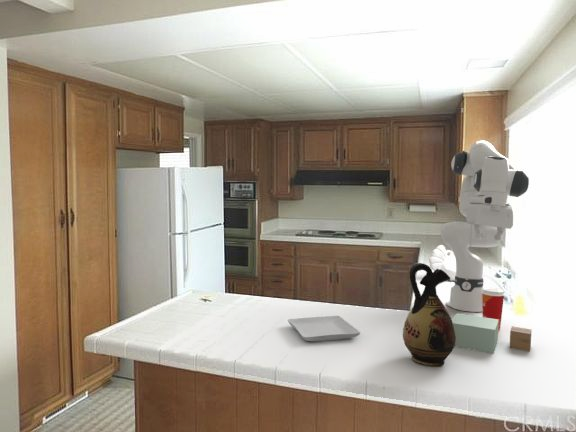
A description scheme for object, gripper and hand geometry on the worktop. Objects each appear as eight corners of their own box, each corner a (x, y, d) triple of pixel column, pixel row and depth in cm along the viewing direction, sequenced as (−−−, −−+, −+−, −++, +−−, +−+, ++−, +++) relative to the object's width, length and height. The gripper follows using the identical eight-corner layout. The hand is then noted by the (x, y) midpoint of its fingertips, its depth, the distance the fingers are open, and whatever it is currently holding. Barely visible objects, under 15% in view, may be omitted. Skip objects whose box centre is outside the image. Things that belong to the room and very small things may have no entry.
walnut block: (511, 343, 154) (511, 326, 154) (530, 346, 151) (531, 329, 151) (509, 348, 149) (510, 330, 149) (529, 351, 146) (530, 333, 146)
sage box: (455, 334, 163) (456, 313, 162) (497, 341, 156) (498, 319, 155) (448, 345, 151) (449, 322, 150) (493, 354, 144) (495, 329, 143)
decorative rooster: (460, 277, 275) (462, 237, 273) (472, 282, 259) (474, 240, 257) (421, 276, 273) (423, 236, 271) (431, 282, 257) (433, 239, 256)
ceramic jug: (442, 351, 144) (446, 260, 142) (463, 370, 129) (467, 268, 127) (391, 351, 144) (394, 259, 142) (405, 370, 128) (409, 267, 126)
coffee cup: (484, 323, 176) (486, 286, 175) (506, 328, 170) (508, 290, 170) (476, 328, 170) (477, 289, 169) (498, 333, 164) (500, 293, 164)
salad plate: (303, 346, 147) (303, 336, 147) (286, 327, 168) (286, 318, 167) (361, 341, 153) (362, 332, 153) (338, 323, 173) (338, 315, 173)
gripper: (504, 203, 166) (500, 240, 166) (465, 197, 157) (460, 236, 157) (519, 204, 160) (515, 242, 160) (479, 197, 151) (475, 237, 151)
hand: (488, 239), depth 158 cm, fingers open, 8 cm apart
